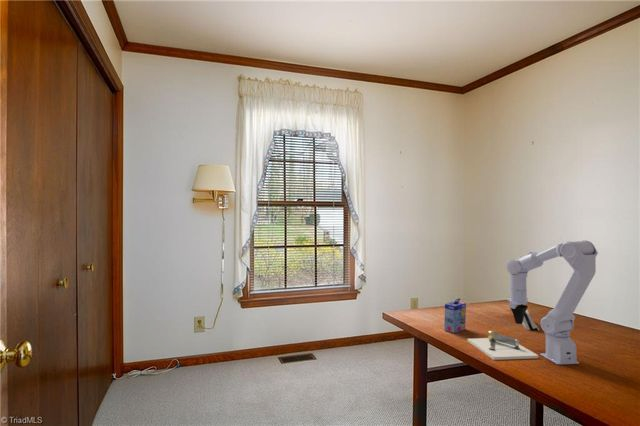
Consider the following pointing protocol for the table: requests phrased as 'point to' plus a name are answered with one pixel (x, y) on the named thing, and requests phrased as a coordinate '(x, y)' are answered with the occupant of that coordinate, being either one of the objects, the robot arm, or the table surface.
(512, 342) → the divider leg
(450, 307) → the ink cartridge box
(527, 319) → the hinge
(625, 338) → the table surface
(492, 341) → the divider fixed leg
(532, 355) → the plate
